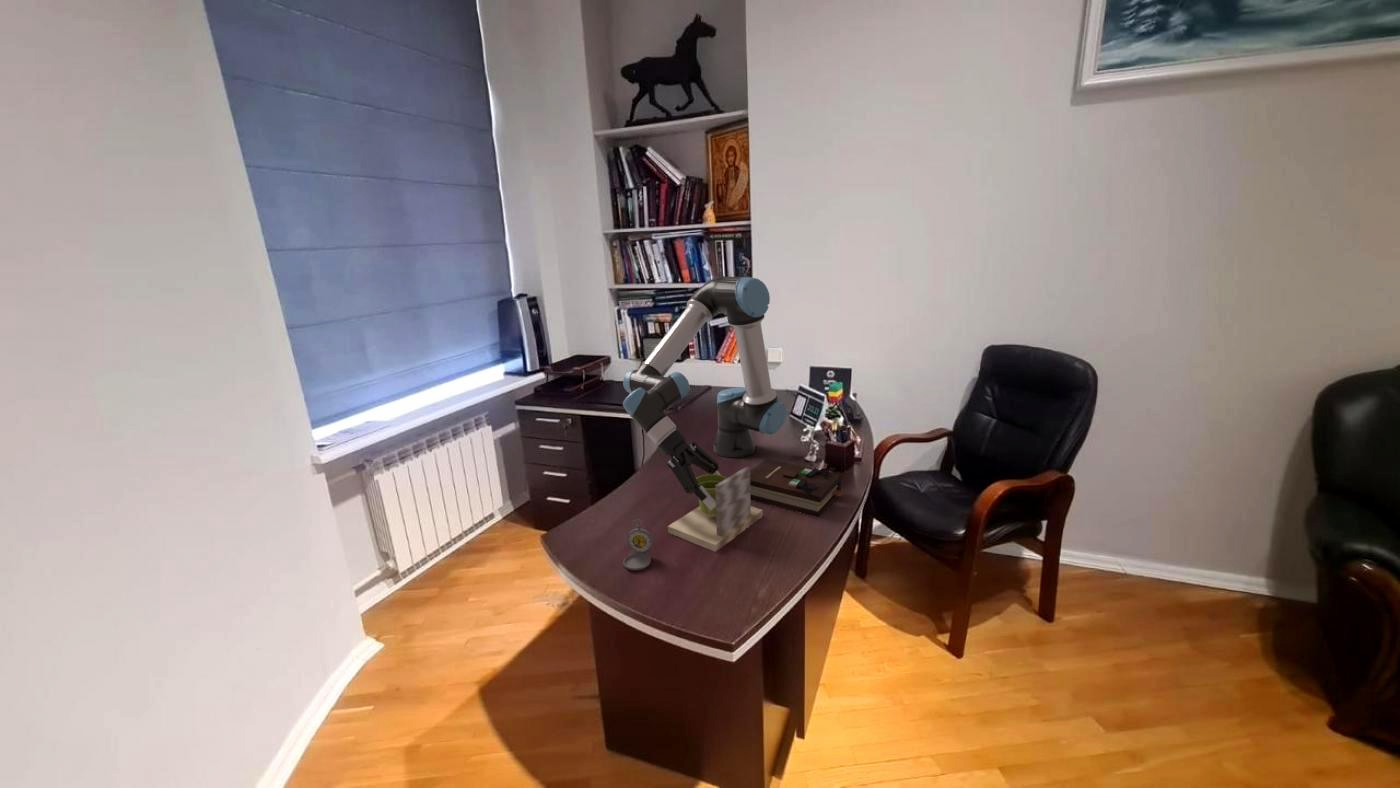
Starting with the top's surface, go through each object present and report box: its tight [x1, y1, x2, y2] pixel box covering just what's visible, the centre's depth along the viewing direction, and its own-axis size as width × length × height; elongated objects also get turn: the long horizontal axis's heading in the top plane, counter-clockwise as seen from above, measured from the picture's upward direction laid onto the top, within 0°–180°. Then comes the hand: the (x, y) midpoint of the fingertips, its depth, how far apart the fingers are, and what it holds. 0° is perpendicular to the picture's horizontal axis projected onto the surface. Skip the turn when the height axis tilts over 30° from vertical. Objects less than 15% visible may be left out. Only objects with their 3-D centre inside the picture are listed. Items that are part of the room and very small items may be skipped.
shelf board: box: [667, 466, 764, 553], centre depth 147 cm, size 22×16×16 cm
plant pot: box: [695, 473, 728, 515], centre depth 148 cm, size 9×9×9 cm
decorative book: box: [750, 458, 846, 518], centre depth 164 cm, size 19×8×30 cm
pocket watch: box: [622, 519, 654, 571], centre depth 133 cm, size 8×8×10 cm
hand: (721, 499), depth 147 cm, fingers closed on plant pot, 9 cm apart
